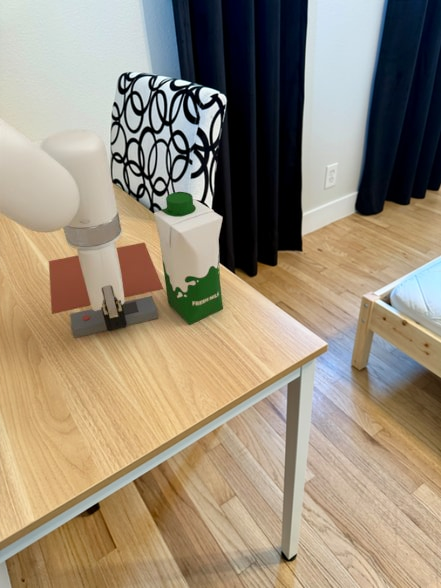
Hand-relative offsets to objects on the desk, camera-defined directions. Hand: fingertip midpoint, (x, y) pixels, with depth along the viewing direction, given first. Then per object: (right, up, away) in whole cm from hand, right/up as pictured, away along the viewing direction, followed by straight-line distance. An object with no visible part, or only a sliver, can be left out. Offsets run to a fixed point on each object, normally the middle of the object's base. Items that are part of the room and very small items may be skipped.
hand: (116, 326), depth 70 cm
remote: (-1, +1, +3) cm, 4 cm away
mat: (-6, +9, +14) cm, 18 cm away
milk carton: (+13, +3, +6) cm, 14 cm away
